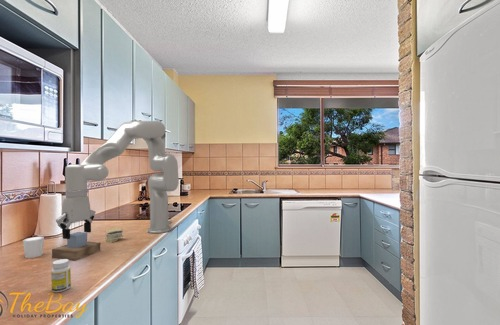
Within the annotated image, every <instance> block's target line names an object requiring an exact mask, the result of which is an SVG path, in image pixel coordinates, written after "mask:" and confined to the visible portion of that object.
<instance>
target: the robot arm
mask: <svg viewBox="0 0 500 325" xmlns="http://www.w3.org/2000/svg"><path fill="white" fill-rule="evenodd" d="M165 133H166V126H165V124H164V123H162V121H159V120H134V121H127V122H123V123H121V124H120V125H119V127H117V129H116V130H115V131H114V132H113V133H112V135H111V136H110V137H109V138H108V139H107V141H105V142H104V143H103V144H101V145H100V146H99V147H98V148H96V149H95V150H93V151H92V152H91V153H90V154H89V155H88V156H87V157H86V158H84V160H83V161H82V162H81V163H80V164H67V165H66V166H65V167H64V168H65V170H64V171H65V172H64V176H65V180H64V181H65V198H63V201H62V205H61V215H60V216H58V217H57V218H56V219H55V222H56V224H57V226H58V227H59V228H60V229H61V232H62V239H63V240H67V239H70V234H71V228H70V227H71V225H72V224H74V223H79V222H82V221H83V222H84V223H83V232H84V233H89V234H90V233H91V232H92V223H93V220H94V219H95V215H96V211H95V210H93V209H91V204H90V203H91V202H90V199H89V198H90V197H89V196H88V194H89V190H88V181H91V182H92V181H94V182H99V181H102V180H105V179H106V178H107V177H108V176H109V169H108V167H107V166H106V165H105V163H107V162H108V161H111V160H113V159H115V158H117V157H119V156H121V155H122V154H123V153H124V151H126V149H127V148H128V147H129V145H130V144H132V142H133V141H134V140H137V139H143V140H144V141H145V142H146V145H147V149H148V150H147V151H148V158H149V159H148V161H149V167H150V169H151V170H152V171H154V172H158V173H153V174H152V175H150V176H149V178H148V180H147V187H148V189H149V191H148V192H149V212H150V213H149V218H150V219H149V221H150V222H149V224H150V225H149V228H147V229H146V231H147V233H149V234H163V233H167V232H170V231H171V230H172V227H171V226H170V225H171V224H173V221H172V220H171V219H170V220H169V195H168V193H167V192H174V191H175V190H177V189H178V186H179V165H178V160H177V158H176V156H175V155H173V154H172V153H166V149H165V143H164V140H163V139H162V137H163V136H164V135H165ZM160 172H163V173H160Z"/></svg>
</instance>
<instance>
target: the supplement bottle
mask: <svg viewBox="0 0 500 325" xmlns="http://www.w3.org/2000/svg"><path fill="white" fill-rule="evenodd" d="M50 271H51V272H50V274H51V275H50V276H51V291H52V293H61V292H65V291H68V290H70V288H71V285H72V282H71V281H72V278H71V276H72V275H71V274H72V273H71V265H70V260H68V259H57V260H54V261H53V262H52V269H51V270H50Z"/></svg>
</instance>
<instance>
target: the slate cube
mask: <svg viewBox="0 0 500 325" xmlns="http://www.w3.org/2000/svg"><path fill="white" fill-rule="evenodd" d="M87 242H88V232H84V231H77V232H74V233H73V232H72V233H70V239H66V245H67V247H70V248H79V247H82V246H85V245H87Z"/></svg>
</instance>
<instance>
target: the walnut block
mask: <svg viewBox="0 0 500 325" xmlns="http://www.w3.org/2000/svg"><path fill="white" fill-rule="evenodd" d="M99 252H101V242H95V241H87V245H85V246H82V247H79V248H70V247H67V244H64V245H61V246H57V247H55V248H52V249H51V258H52V259H57V260H60V259H68V260H69V261H74V262H76V261H78V260H81V259H83V258H86V257H89V256H91V255H94V254H96V253H99Z"/></svg>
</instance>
